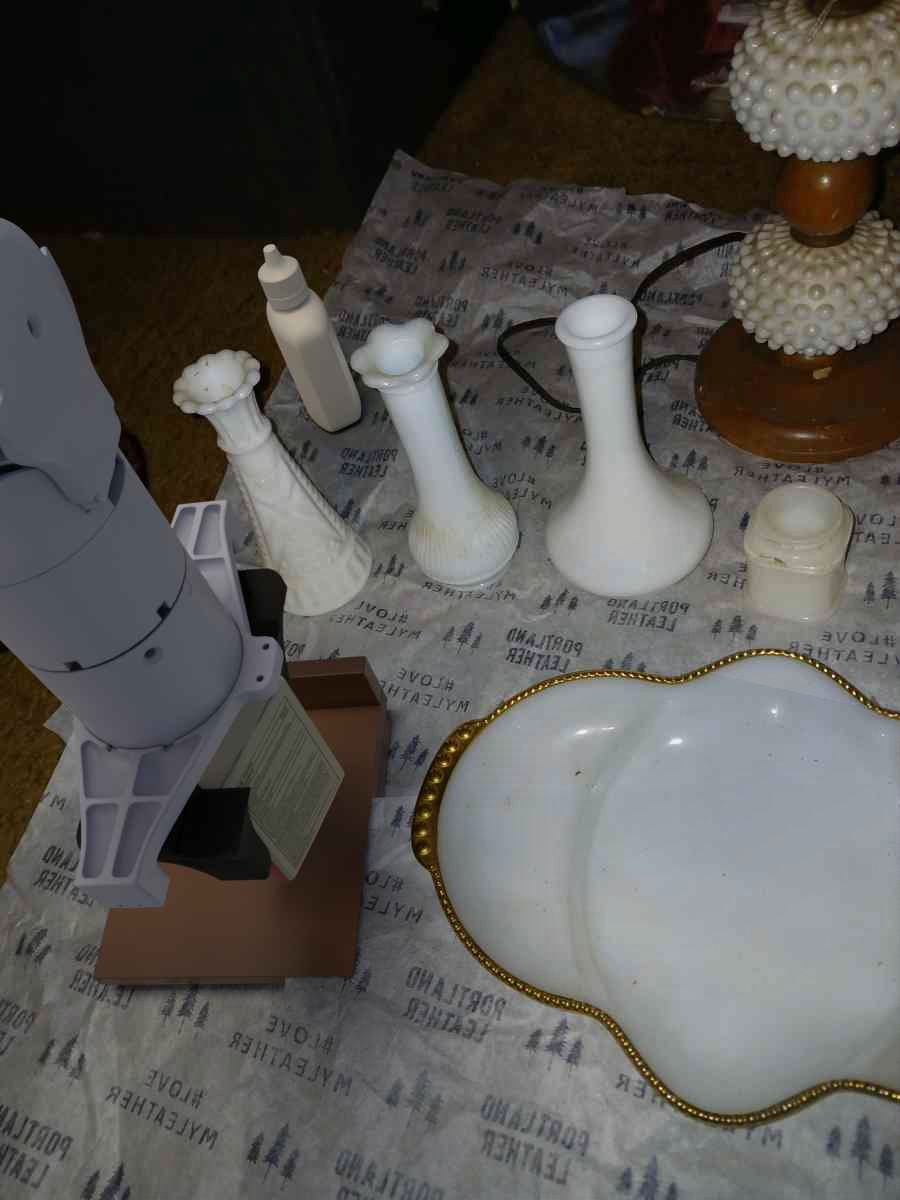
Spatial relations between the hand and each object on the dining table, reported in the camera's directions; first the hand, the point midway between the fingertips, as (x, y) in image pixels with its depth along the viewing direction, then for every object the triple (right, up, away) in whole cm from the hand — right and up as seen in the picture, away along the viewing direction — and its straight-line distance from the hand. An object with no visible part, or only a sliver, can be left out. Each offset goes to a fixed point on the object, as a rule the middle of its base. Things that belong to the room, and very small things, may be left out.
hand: (259, 793), depth 42 cm
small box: (+1, -1, +2) cm, 2 cm away
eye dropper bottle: (0, +20, +27) cm, 34 cm away
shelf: (-2, -4, +9) cm, 10 cm away
